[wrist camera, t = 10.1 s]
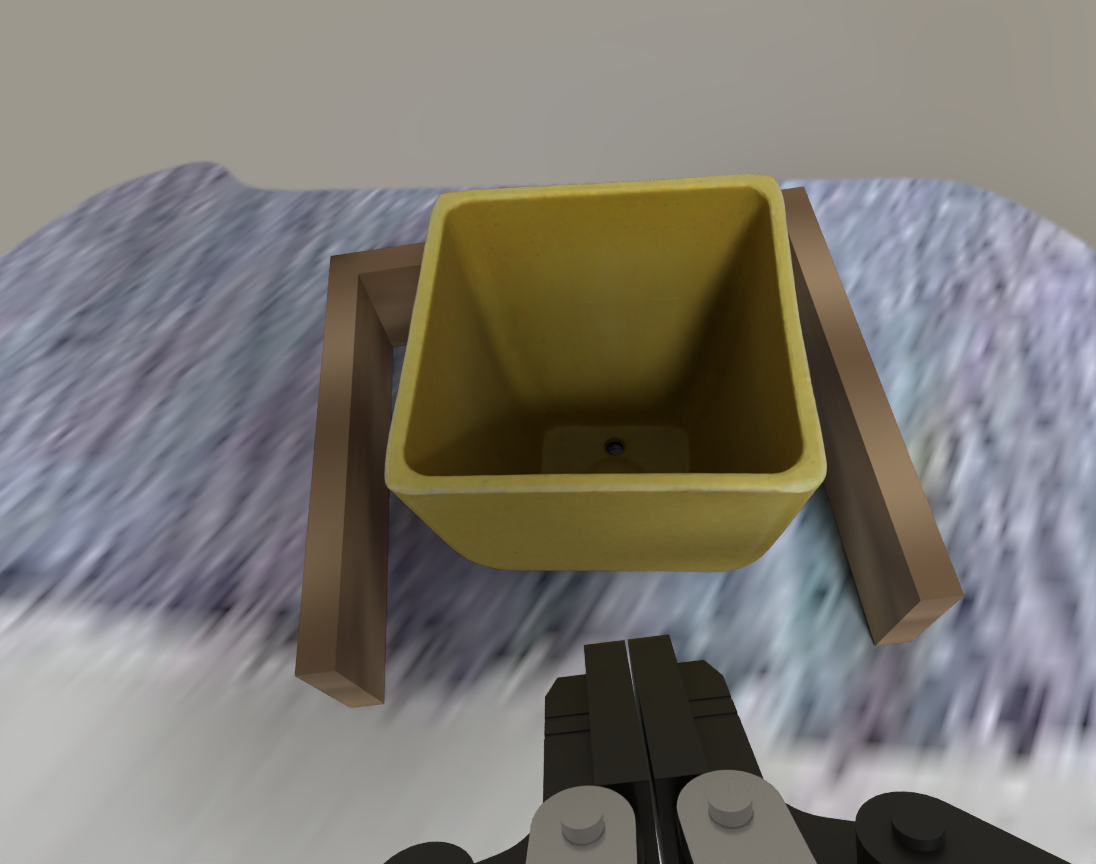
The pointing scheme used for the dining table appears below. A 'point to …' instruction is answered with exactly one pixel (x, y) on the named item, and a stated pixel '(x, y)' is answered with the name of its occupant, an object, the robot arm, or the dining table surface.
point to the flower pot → (607, 377)
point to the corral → (363, 498)
